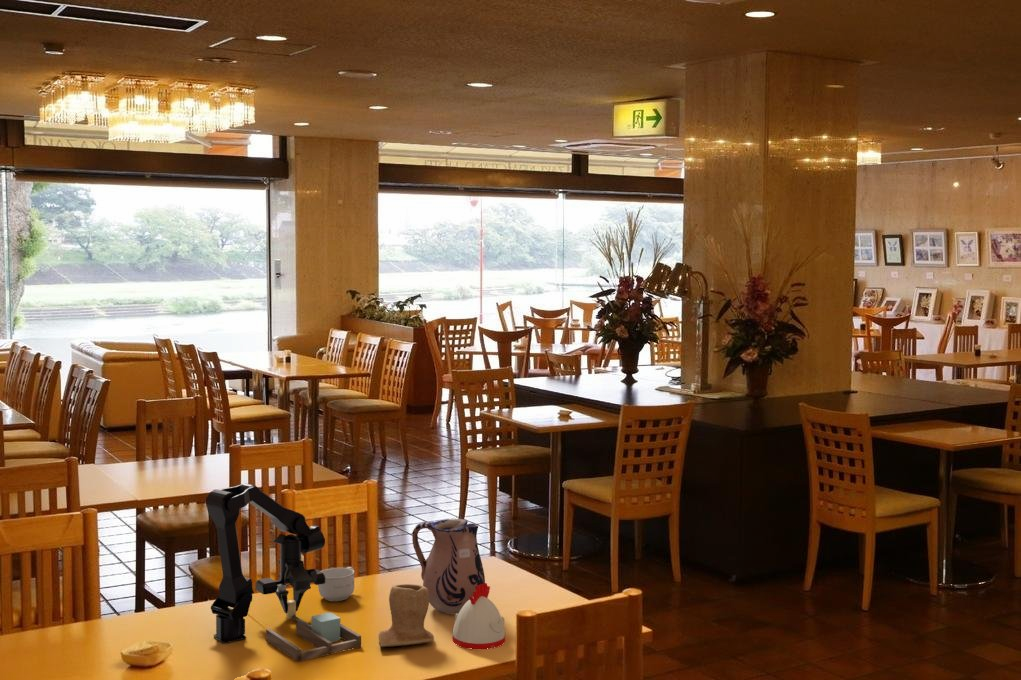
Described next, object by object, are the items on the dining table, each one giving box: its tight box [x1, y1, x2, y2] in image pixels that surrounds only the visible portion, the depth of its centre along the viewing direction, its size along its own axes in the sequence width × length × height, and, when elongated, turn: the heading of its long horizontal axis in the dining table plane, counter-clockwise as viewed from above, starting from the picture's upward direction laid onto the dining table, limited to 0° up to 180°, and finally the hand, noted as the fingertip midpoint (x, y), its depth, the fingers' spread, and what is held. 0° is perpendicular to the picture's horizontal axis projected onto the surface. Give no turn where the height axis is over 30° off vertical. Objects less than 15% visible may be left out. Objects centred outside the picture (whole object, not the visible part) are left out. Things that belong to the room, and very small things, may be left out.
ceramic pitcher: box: [411, 518, 486, 615], centre depth 316 cm, size 18×21×25 cm
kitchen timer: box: [452, 582, 506, 650], centre depth 293 cm, size 14×14×15 cm
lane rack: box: [265, 622, 362, 663], centre depth 288 cm, size 18×18×3 cm
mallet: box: [285, 599, 341, 643], centre depth 299 cm, size 6×25×6 cm, turn 37°
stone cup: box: [378, 583, 435, 648], centre depth 290 cm, size 15×12×15 cm
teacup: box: [317, 566, 355, 602], centre depth 326 cm, size 14×11×8 cm
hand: (290, 611), depth 308 cm, fingers closed on mallet, 3 cm apart
